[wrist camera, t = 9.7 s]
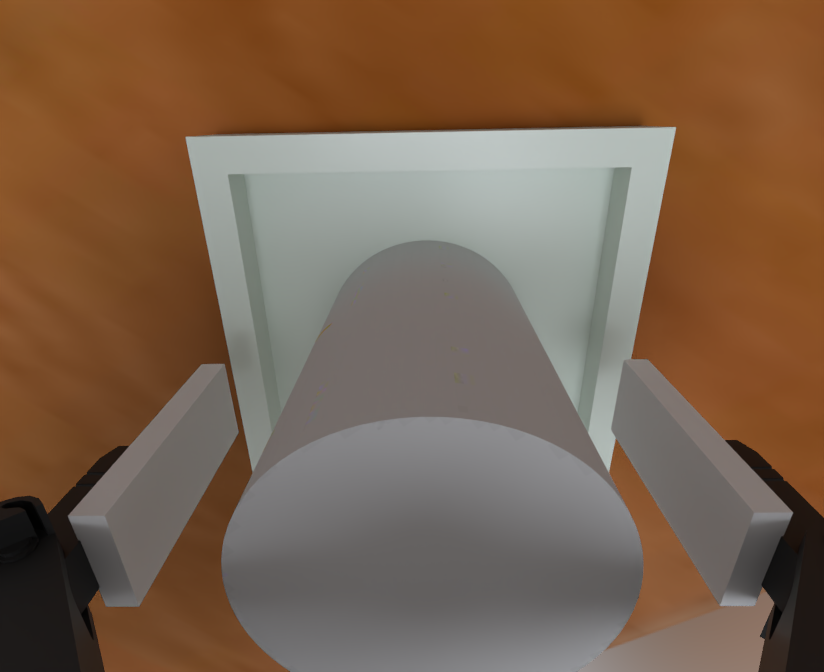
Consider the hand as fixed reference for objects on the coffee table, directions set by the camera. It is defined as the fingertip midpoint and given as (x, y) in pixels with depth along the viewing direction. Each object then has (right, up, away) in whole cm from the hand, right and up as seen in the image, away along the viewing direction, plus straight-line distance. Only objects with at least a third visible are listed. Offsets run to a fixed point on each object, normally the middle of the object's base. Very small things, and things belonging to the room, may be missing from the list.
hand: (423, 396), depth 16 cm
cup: (0, +2, +4) cm, 5 cm away
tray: (0, +2, +5) cm, 6 cm away
